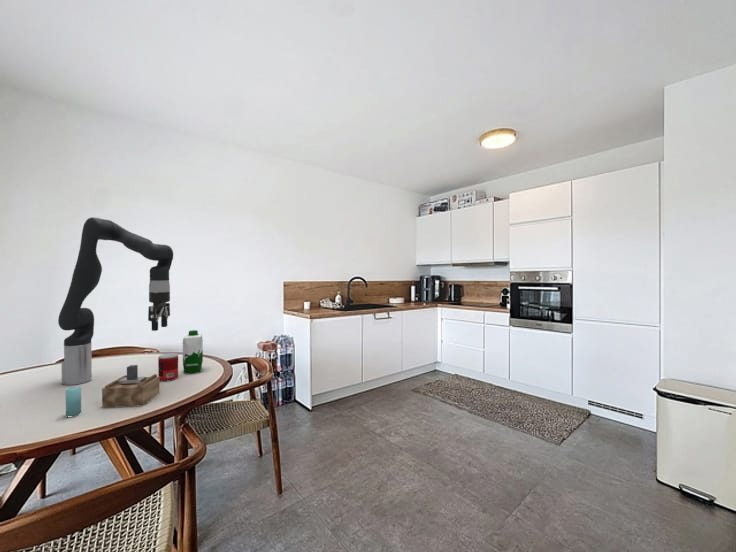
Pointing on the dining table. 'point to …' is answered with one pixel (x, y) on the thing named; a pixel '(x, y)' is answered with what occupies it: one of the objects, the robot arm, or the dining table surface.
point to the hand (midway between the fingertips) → (159, 328)
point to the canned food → (168, 366)
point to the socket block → (130, 392)
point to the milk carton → (192, 352)
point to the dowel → (73, 401)
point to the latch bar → (132, 376)
